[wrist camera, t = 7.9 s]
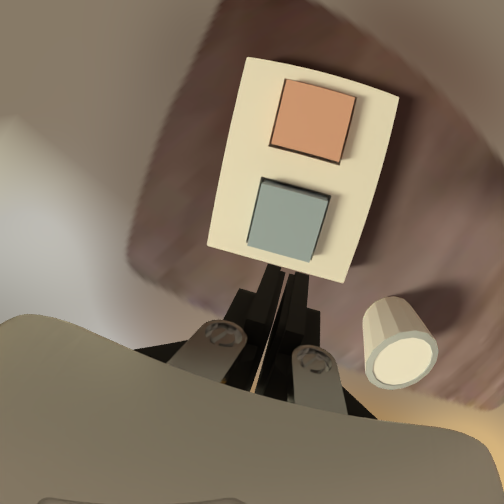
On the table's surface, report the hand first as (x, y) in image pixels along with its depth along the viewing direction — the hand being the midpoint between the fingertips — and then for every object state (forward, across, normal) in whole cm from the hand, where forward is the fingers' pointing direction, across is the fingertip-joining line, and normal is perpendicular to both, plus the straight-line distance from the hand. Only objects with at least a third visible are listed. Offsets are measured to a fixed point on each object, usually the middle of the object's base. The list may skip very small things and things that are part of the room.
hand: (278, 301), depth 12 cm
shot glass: (+16, -12, +8) cm, 22 cm away
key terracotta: (+14, +1, -8) cm, 16 cm away
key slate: (+14, +1, 0) cm, 14 cm away
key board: (+16, +1, -4) cm, 16 cm away
